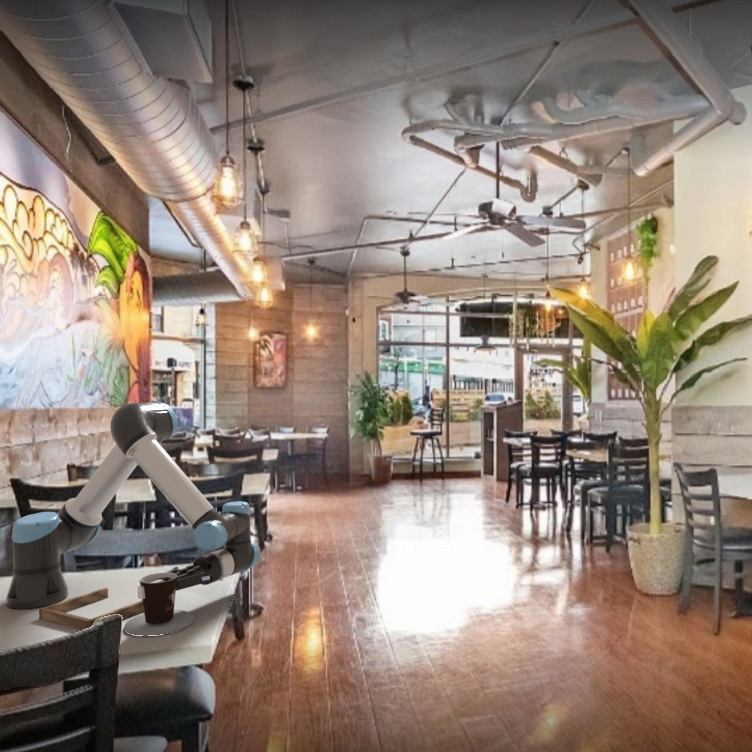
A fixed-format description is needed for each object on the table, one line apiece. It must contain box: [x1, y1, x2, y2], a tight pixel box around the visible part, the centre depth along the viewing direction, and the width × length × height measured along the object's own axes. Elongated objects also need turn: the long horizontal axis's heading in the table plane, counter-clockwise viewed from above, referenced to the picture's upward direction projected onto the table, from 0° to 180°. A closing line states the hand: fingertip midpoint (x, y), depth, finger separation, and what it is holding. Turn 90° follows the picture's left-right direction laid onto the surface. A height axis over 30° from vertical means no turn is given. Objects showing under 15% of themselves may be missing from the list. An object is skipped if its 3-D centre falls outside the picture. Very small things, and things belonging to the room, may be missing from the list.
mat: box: [123, 609, 195, 636], centre depth 156 cm, size 16×16×1 cm
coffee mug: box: [139, 572, 177, 624], centre depth 156 cm, size 12×9×10 cm
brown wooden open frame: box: [38, 587, 144, 631], centre depth 166 cm, size 19×20×2 cm
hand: (139, 593), depth 151 cm, fingers closed
